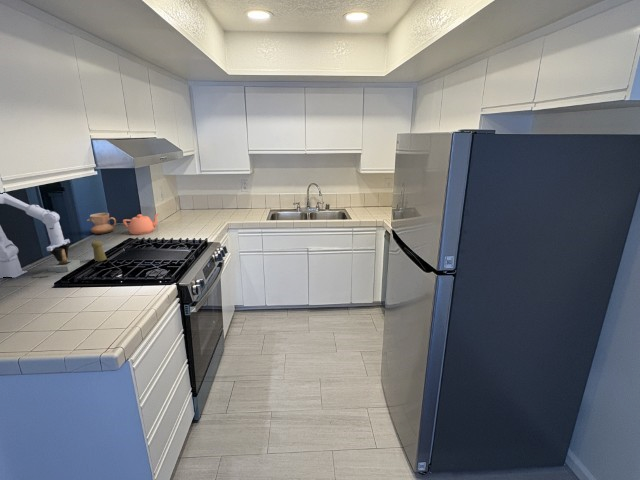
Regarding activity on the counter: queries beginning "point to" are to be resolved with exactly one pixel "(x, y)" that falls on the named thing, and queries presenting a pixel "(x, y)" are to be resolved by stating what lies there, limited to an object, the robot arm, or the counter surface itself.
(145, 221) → the teapot
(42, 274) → the pad
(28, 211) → the robot arm
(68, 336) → the counter surface
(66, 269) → the socket
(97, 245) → the olive pepper mill
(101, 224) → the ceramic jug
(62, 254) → the peg
